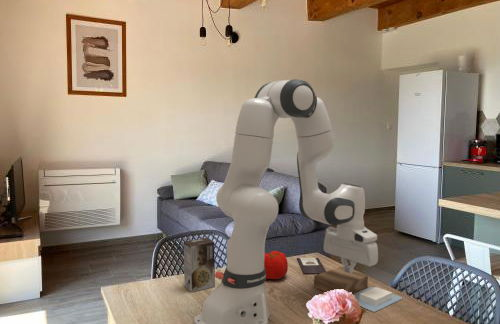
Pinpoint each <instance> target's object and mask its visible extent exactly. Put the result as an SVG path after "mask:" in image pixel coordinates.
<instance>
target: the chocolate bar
mask: <svg viewBox="0 0 500 324" xmlns="http://www.w3.org/2000/svg"><path fill="white" fill-rule="evenodd" d="M296 260H297V263H298V265H299V267H300V270H301V272H302V274H303V275H304V276H305V275H306V276H307V275H317V274H320V273H323V272H326V271H327V270H326V268H325V267H324V265H323V263H322V262H321V260H320V258H319V257H296Z"/></svg>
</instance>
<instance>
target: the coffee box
mask: <svg viewBox="0 0 500 324" xmlns="http://www.w3.org/2000/svg"><path fill="white" fill-rule="evenodd" d="M215 261H216V260H215V241H213V240H211V239H210V238H207V237H204V238H198V239H197V238H196V239H192V240H187V241H185V240H184V241H183V269H184V270H183V275H184V277H183V278H184V279H183V280H184V281H183V282H184V283H183V285H184V288H186V289H187V290H188V291H190V292H191V293H194V292H198V291H202V290H207V289H211V288H215V287H216V277H215V275H216V274H215V273H216V270H215V263H216V262H215Z"/></svg>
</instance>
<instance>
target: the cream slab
mask: <svg viewBox="0 0 500 324" xmlns="http://www.w3.org/2000/svg"><path fill="white" fill-rule="evenodd" d="M392 294H393V292H391V291H389V290H387V289H383V288H380V287H377V286H376V287H375V286H374V288H372V289H370V290H368V291H365V292H363V293H361V294H360V297H359V300H361V301H363V302H366V303H369V304H371V305H374V306H377V305H379V304H381V303H384V302H386V301H388V300H390V299H392Z"/></svg>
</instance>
